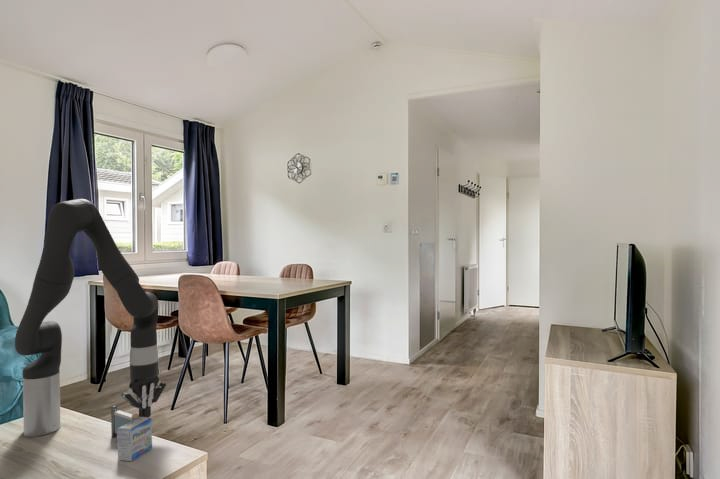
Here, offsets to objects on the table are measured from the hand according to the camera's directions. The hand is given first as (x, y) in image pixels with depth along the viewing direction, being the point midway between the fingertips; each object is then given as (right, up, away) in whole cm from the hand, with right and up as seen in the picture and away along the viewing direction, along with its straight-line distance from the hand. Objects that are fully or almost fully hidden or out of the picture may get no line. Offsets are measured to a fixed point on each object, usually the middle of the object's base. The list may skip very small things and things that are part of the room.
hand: (145, 419), depth 130 cm
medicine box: (+2, -6, -10) cm, 12 cm away
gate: (-4, -5, -2) cm, 7 cm away
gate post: (-10, -6, +1) cm, 11 cm away
